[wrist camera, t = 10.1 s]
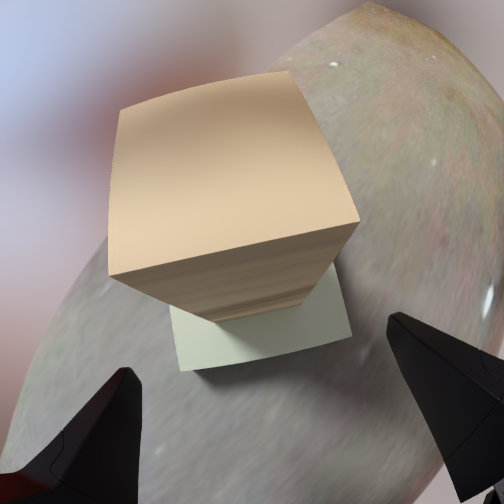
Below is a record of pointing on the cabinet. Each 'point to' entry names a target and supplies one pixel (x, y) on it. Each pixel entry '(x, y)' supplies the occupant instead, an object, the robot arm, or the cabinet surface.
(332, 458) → the cabinet surface
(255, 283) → the pine block
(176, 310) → the base plate
